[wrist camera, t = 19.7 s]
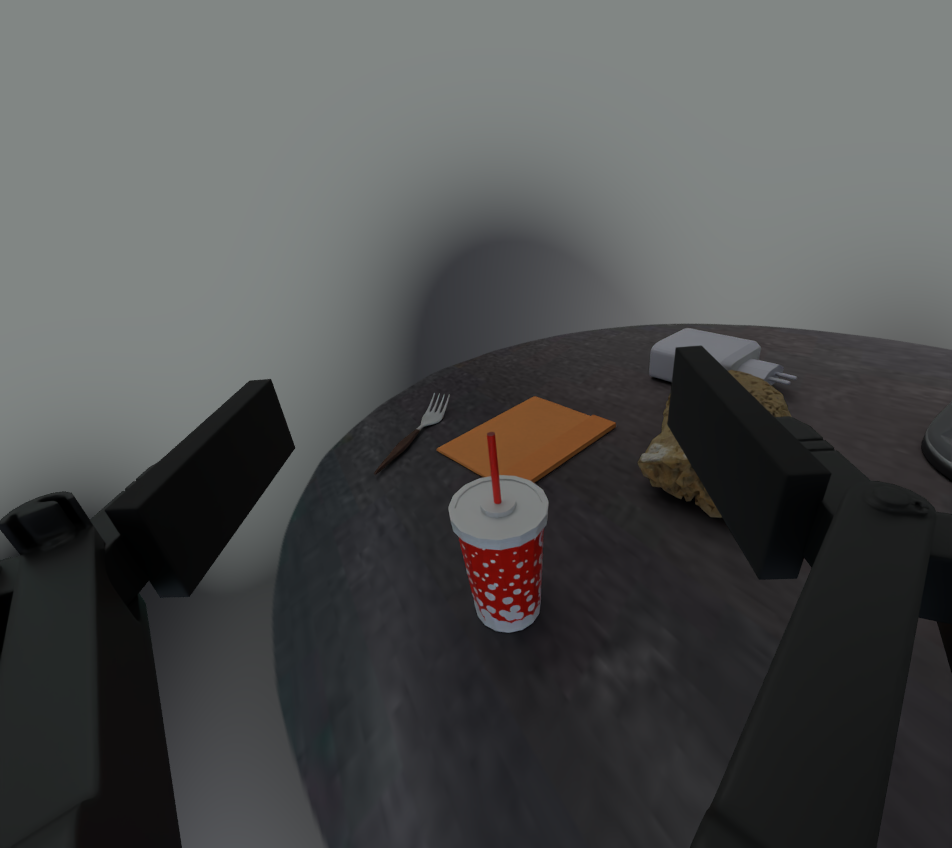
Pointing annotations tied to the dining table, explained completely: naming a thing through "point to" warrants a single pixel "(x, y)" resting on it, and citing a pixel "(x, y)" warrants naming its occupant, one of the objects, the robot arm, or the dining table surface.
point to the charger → (715, 355)
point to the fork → (416, 431)
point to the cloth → (528, 439)
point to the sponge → (673, 467)
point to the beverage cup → (502, 545)
